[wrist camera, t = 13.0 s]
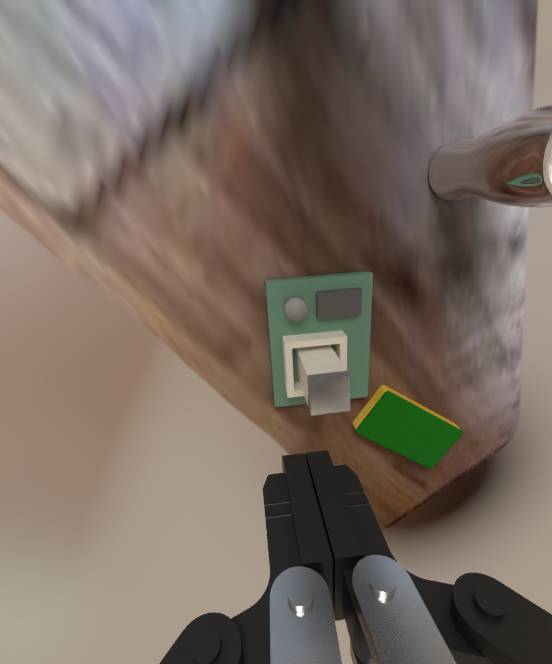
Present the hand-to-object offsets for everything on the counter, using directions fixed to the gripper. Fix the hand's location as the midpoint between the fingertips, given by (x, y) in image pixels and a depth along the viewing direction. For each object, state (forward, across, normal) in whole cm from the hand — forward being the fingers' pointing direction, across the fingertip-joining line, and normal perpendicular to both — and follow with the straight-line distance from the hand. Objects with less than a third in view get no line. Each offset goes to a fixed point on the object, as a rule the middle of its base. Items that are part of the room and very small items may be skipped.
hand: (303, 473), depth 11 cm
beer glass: (+29, -22, -10) cm, 38 cm away
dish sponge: (+30, -19, +22) cm, 41 cm away
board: (+29, -7, +8) cm, 31 cm away
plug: (+28, -6, +10) cm, 30 cm away
